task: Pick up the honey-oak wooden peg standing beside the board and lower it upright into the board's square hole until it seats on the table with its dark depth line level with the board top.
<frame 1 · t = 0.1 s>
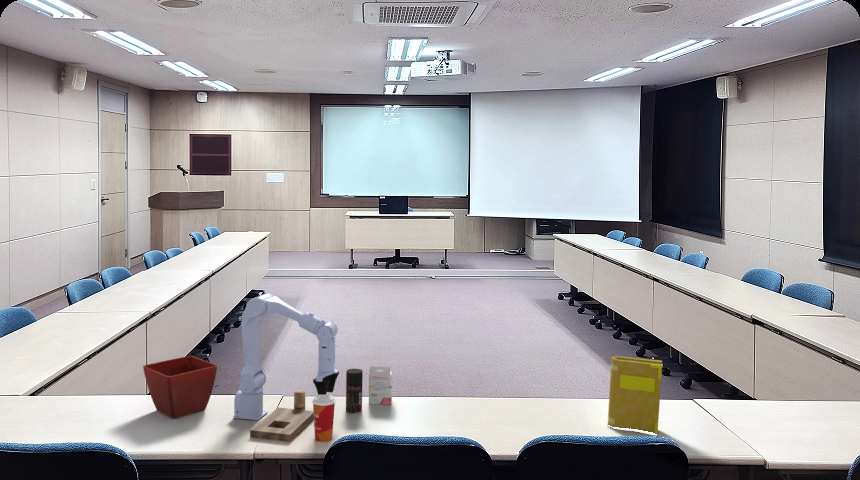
hand: (326, 395, 234), 10 cm above the table, tool pointing down, fingers open, 7 cm apart
socket board: (283, 427, 231), on the table
plant pot: (180, 411, 244), on the table
paper cup: (323, 439, 222), on the table
book: (632, 429, 238), on the table
peg: (299, 413, 244), on the table
ink cartridge box: (380, 403, 258), on the table
deodorant: (353, 411, 249), on the table
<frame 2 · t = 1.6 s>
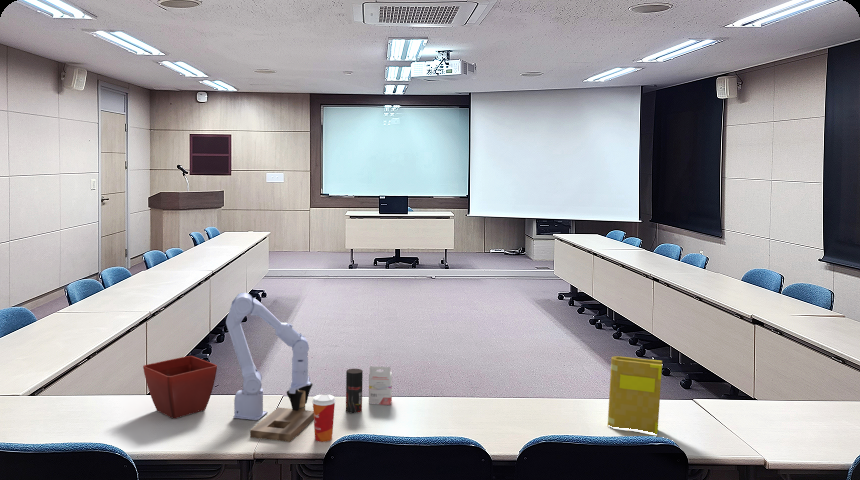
hand: (299, 406, 244), 2 cm above the table, tool pointing down, fingers open, 7 cm apart
nothing on the table moved.
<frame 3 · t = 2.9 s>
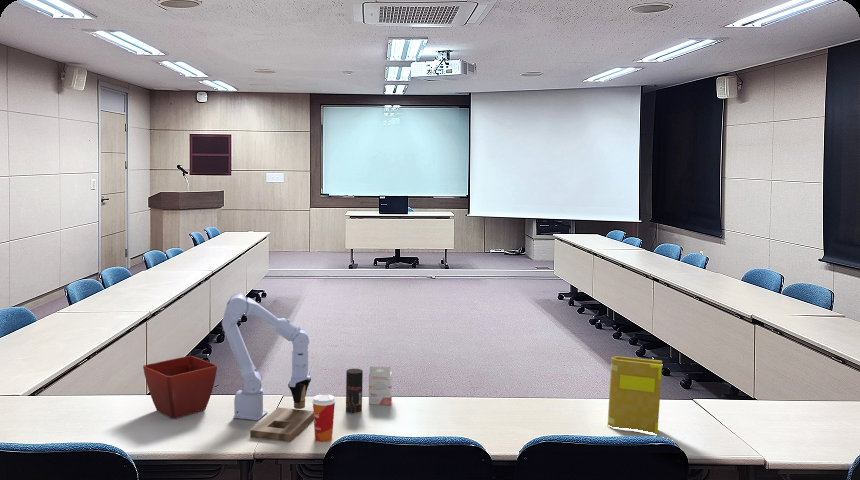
hand: (299, 400, 244), 5 cm above the table, tool pointing down, fingers closed on peg, 4 cm apart
peg: (299, 407, 244), point 2 cm above the table, touching gripper
everything else where it was.
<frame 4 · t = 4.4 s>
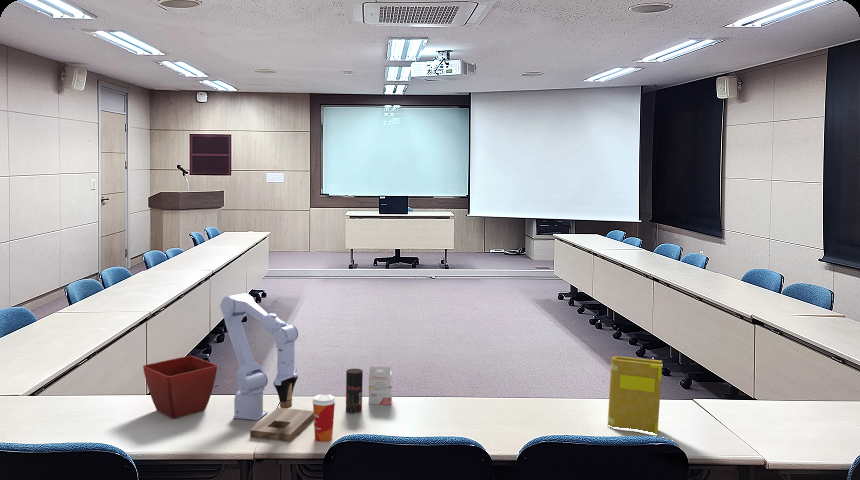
hand: (285, 399, 231), 9 cm above the table, tool pointing down, fingers closed on peg, 4 cm apart
peg: (285, 406, 231), point 7 cm above the table, touching gripper
everything else where it was.
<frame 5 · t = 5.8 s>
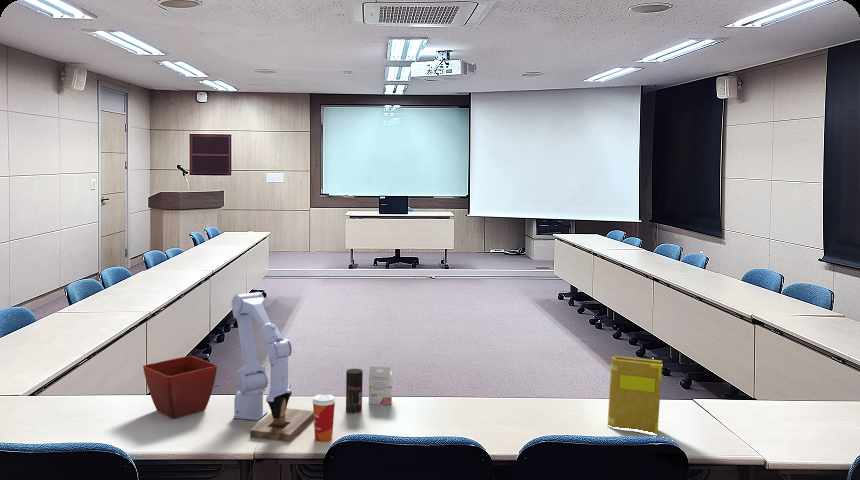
hand: (279, 415, 226), 6 cm above the table, tool pointing down, fingers closed on peg, 4 cm apart
peg: (279, 422, 226), point 3 cm above the table, touching gripper
everything else where it was.
when the fingers open (4 cm above the table, at t = 6.7 s): peg drops 1 cm, resting in socket board.
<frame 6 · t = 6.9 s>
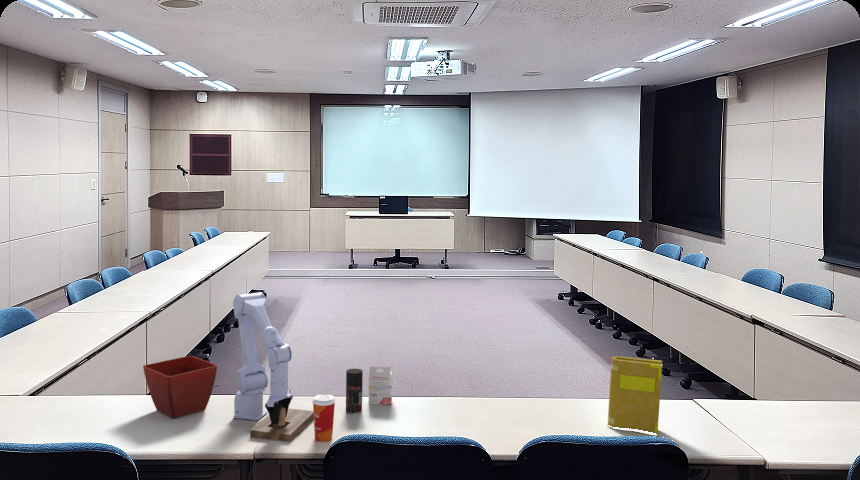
hand: (279, 420, 226), 4 cm above the table, tool pointing down, fingers open, 6 cm apart
peg: (279, 431, 227), resting in socket board
everything else where it was.
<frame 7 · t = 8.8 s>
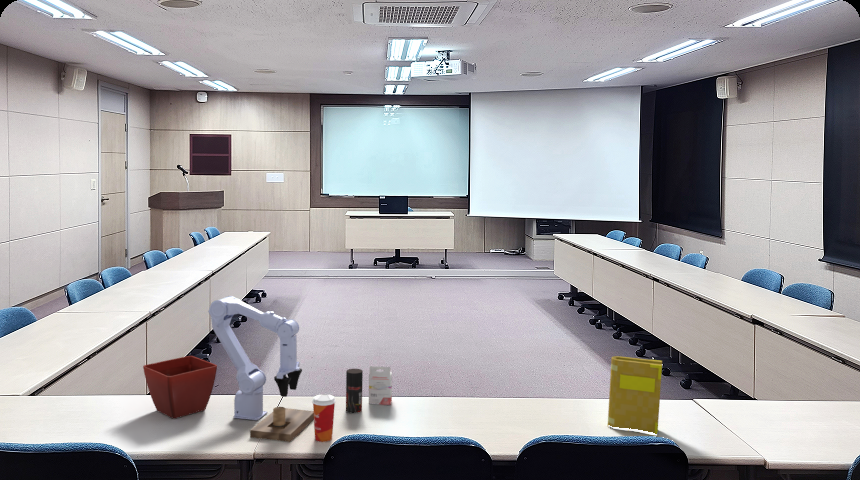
hand: (288, 392, 236), 10 cm above the table, tool pointing down, fingers open, 7 cm apart
nothing on the table moved.
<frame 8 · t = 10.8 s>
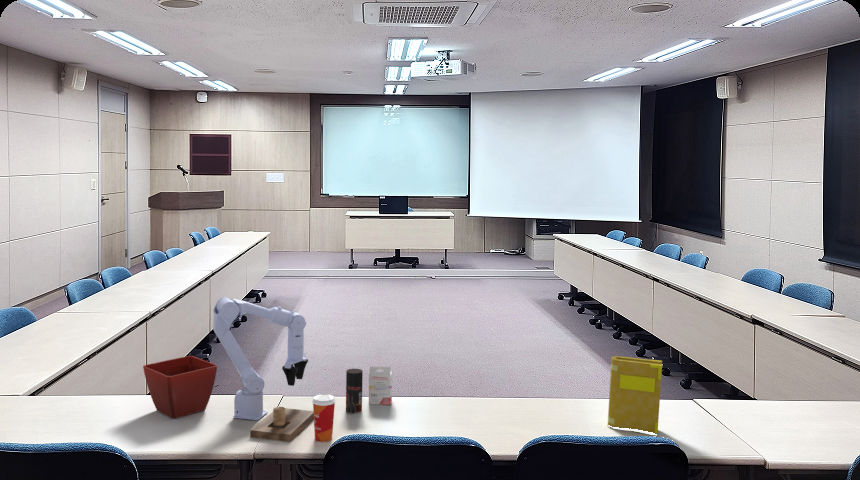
hand: (295, 382, 247), 10 cm above the table, tool pointing down, fingers open, 7 cm apart
nothing on the table moved.
at the end: peg 0.1 cm from the target spot on the socket board, point 0.0 cm above the socket board's base; peg tilted 0°; the gripper is holding nothing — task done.
